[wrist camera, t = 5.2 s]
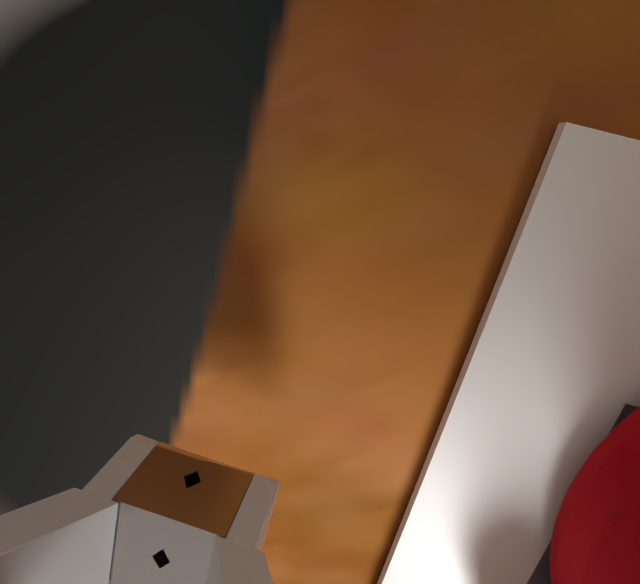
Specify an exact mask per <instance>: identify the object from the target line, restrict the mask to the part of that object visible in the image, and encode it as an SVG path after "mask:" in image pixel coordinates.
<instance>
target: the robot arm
mask: <svg viewBox="0 0 640 584" xmlns="http://www.w3.org/2000/svg"><path fill="white" fill-rule="evenodd" d="M279 486H280V481H279V480H277V479H273V478H270V477H267V476H264V475H260V474H257V473H256V474H255V473H252V472H249V471H246V470H243V469H240V468H237V467H234V466H230V465H227V464H224V463H221V462H218V461H215V460H212V459H208V458H205V457H202V456H199V455H197V454H194V453H191V452H188V451H185V450H183V449H180V448H177V447H174V446H171V445H168V444H166V443H163V442H161V443H160V442H158V441H155V440H152V439H150V438H147V437H144V436H141V435H139V434H138V435H135V436H133V437H131V438H130V439H129V440H128V441H127V442H126V443H125V444H124V445H123V446H122V448H121V449H120V450H119V451H118V452H117V453H116V454H115V455H114V456H113V457H112V458H111V459H110V460H109V461H108V462H107V464H106V465H105V466H104V467H103V468H102V469H101V470H100V471H99V472H98V473H97V474H96V475H95V476H94V477H93V479H92V480H91V481H90V482H89V483H88V484H87V485H86V486H85V487H84V488H83V489H82V490H79V489H76V488H72V489H70V490H67V491H64V492H62V493H59V494H57V495H54V496H51V497H49V498H46V499H43V500H40V501H38V502H35V503H32V504H30V505H27V506H24V507H22V508H19V509H16V510H14V511H11V512H9V513H6V514H3V515H1V516H0V584H108V583H109V582H110V583H113V584H273V582H272V578H271V575H270V572H269V568H268V565H267V562H266V558H265V555H264V552H262V547H263V544H264V540H265V537H266V533H267V530H268V527H269V523H270V519H271V516H272V512H273V508H274V505H275V501H276V497H277V494H278V490H279Z"/></svg>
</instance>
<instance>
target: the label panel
mask: <svg viewBox="0 0 640 584" xmlns="http://www.w3.org/2000/svg"><path fill="white" fill-rule="evenodd" d="M638 407H640V140H637V139H633V138H629V137H625V136H621V135H617V134H613V133H609V132H605V131H601V130H596V129H592V128H588V127H584V126H580V125H576V124H572V123H568V122H563V123H558V126H557V128H556V131H555V133H554V136H553V139H552V141H551V144H550V146H549V149H548V151H547V154H546V156H545V159H544V161H543V164H542V166H541V169H540V171H539V174H538V177H537V179H536V182H535V184H534V187H533V189H532V192H531V194H530V197H529V199H528V202H527V204H526V207H525V209H524V212H523V215H522V217H521V220H520V222H519V225H518V227H517V230H516V232H515V235H514V237H513V240H512V242H511V245H510V247H509V250H508V253H507V255H506V258H505V260H504V263H503V265H502V268H501V270H500V273H499V275H498V278H497V280H496V283H495V285H494V288H493V291H492V293H491V296H490V298H489V301H488V303H487V306H486V308H485V311H484V313H483V316H482V318H481V321H480V323H479V326H478V329H477V331H476V334H475V336H474V339H473V341H472V344H471V346H470V349H469V351H468V354H467V356H466V359H465V361H464V364H463V367H462V369H461V372H460V374H459V377H458V379H457V382H456V384H455V387H454V389H453V392H452V394H451V397H450V399H449V402H448V405H447V407H446V410H445V412H444V415H443V417H442V420H441V422H440V425H439V427H438V430H437V432H436V435H435V438H434V440H433V443H432V445H431V448H430V450H429V453H428V455H427V458H426V460H425V463H424V465H423V468H422V470H421V473H420V476H419V478H418V481H417V483H416V486H415V488H414V491H413V493H412V496H411V498H410V501H409V503H408V506H407V508H406V511H405V514H404V516H403V519H402V521H401V524H400V526H399V529H398V531H397V534H396V536H395V539H394V541H393V544H392V546H391V549H390V552H389V554H388V557H387V559H386V562H385V564H384V567H383V569H382V572H381V574H380V577H379V579H378V582H377V584H551V578H550V559H549V558H550V548H551V538H552V533H553V528H554V523H555V521H556V518H557V515H558V512H559V510H560V507H561V504H562V501H563V499H564V497H565V495H566V492H567V490H568V488H569V486H570V484H571V483H572V481H573V479H574V478H575V476H576V475H577V473H578V472H579V470H580V468H581V467H582V466H583V464H584V463H585V461H586V460H587V458H588V457H589V455H590V454H591V453H592V452H593V451H594V449H595V448H596V447H597V446H598V445H599V444H600V443H601V442H602V441H603V440H604V438H605V437H606V436H607V435H608V434H609V433H610V432H611V431H612V430H613V429H614V428H615V427H616V426H617V425H618V424H619V423H621V422H622V421H623V420H624V419H625V418H626V417H627V416H628V415H629V414H631V413H632V412H633V411H634V410H636V409H637V408H638Z"/></svg>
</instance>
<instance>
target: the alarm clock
mask: <svg viewBox="0 0 640 584" xmlns="http://www.w3.org/2000/svg"><path fill="white" fill-rule="evenodd" d="M549 559H550V578H551V584H640V407H638V408H637V409H636V410H634V411H633V412H632V413H631V414H629V415H628V416H627V417H626V418H625V419H624V420H623V421H622V422H621V423H619V424H618V425H617V426H616V427H615V428H614V429H613V430H612V431H611V432H610V433H609V434H608V435H607V436H606V437H605V438H604V440H603V441H602V442H601V443H600V444H599V445H598V446H597V447H596V448H595V449H594V451H593V452H592V453H591V454H590V455H589V457H588V458H587V460H586V461H585V463H584V464H583V466H582V467H581V468H580V470H579V472H578V473H577V475H576V476H575V478H574V479H573V481H572V483H571V484H570V486H569V488H568V490H567V492H566V495H565V497H564V499H563V501H562V504H561V507H560V510H559V512H558V515H557V518H556V521H555V523H554V528H553V533H552V538H551V548H550V558H549Z"/></svg>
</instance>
